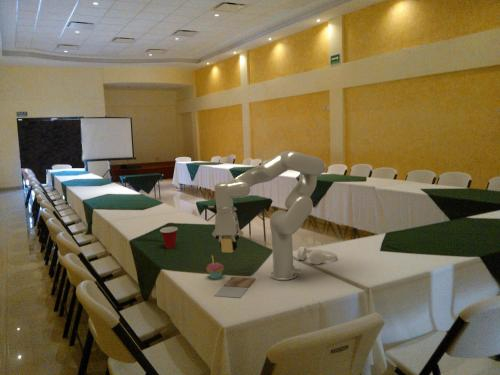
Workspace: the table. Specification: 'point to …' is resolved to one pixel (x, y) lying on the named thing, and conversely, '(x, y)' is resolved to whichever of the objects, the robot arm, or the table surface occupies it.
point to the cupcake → (215, 269)
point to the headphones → (316, 255)
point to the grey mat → (231, 292)
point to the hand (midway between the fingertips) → (228, 249)
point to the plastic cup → (169, 236)
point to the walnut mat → (240, 282)
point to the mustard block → (227, 244)
